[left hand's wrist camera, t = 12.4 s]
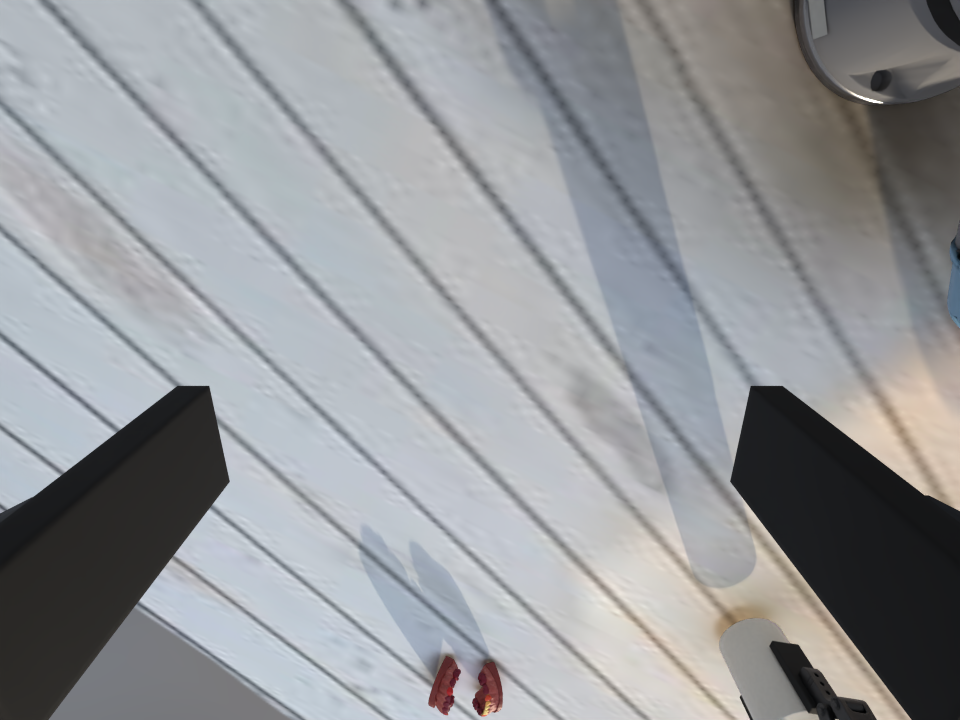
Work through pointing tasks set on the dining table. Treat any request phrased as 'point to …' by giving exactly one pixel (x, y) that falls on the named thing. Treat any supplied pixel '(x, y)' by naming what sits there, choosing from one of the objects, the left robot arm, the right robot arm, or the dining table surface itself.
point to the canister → (761, 671)
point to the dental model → (484, 699)
